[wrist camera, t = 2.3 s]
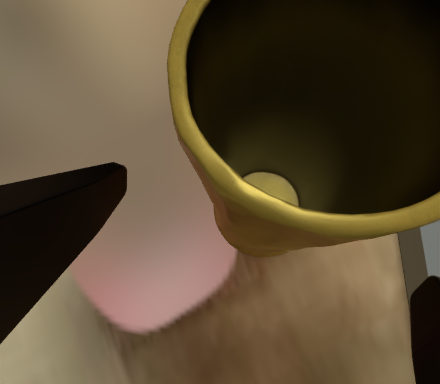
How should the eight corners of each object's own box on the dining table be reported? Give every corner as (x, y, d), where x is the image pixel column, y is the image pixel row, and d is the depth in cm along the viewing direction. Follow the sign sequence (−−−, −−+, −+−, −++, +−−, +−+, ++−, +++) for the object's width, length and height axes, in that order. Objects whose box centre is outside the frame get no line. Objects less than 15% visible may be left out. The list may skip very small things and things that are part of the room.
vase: (211, 165, 19) (133, -77, 5) (304, 157, 19) (500, -125, 5) (217, 260, 18) (138, 291, 4) (318, 252, 17) (642, 257, 3)
